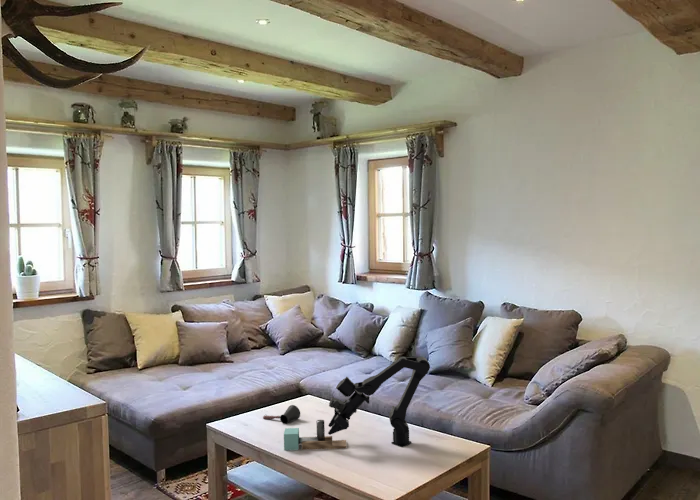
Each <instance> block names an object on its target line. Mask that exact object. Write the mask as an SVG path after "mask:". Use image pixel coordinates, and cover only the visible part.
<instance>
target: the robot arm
mask: <svg viewBox="0 0 700 500" xmlns="http://www.w3.org/2000/svg"><path fill="white" fill-rule="evenodd" d="M404 368H406V369H410V370H412V374H411V376H410V378H409V381H408V383H407V385H406V388H405V389H404V390H403V391H404V392H403V393H402V395H401V397H400V400H399V401H398V404H397V405H392V406H391V410H390V412H388V417H389V422H390V425H391V427H393V429H392V430H393V431H392V441H391V444H392V445H395V446H398V447H401V448H404V447H406V446H408V445H410V444H412V441H410V430H409V429H410V428H409V424H408V422H407V420H406V416H407V410H408V408H409V406H410V404H411V402H412V400H413V398H414V395H415V393H416V391H417V389H418V387H419V385H420V382H421V381H422V380H423V378H425V376H426V375H427V374H428V372H429V371H430V369H431V365H430V363H429V361H428V360H427V358H426V357H424V356H419V357H411V356H409V357H407V356H400V357H398V359H396V360H395V361H394V362H392V363H391V364H389V366H387V367H385V368H384V369H383V370H381V371H380V372H379V373H377V374H375V375H373V376H369V377H367V378H365V379H364V380H363V381H360V382H355V383H354V382H353V381H352V380H351V379H350V378H349V376H346V377H344V378H343V379H342V380H340V381H339V382H338V384H337V385H336V388H335V389H336V390H337V391H338V392H339V393H340V394H342V395H343V396H344V397H345V398H348V399H344V400H342V399H339V398H336V397H334V396H331V399H330V400H329V403H328V404H329V405H328V407H330V408H333V409H334V414H333V416H332V418H331V419H330V422H329V423H328V427H329V428H330V429H329V431H328V433H327V434H328V435H329V436H332V435H333V434H335V433H339V432H340V431H343V430H345V431H346V430H347V429H348V428H349V427H350V421H349V420H351V417H352V415H354V414H356V413H357V412H358V411H357V410H358V409H359V408H360V407H361V406H362V405H363V403H367V404H368V405H369V404H370V398H371V397H370V396H373V395H374V394H375V393H376V392H377V391H378V390H379V388H380V387H381V386H382V384H383V383H385V382H386V381H387V380H389V379H390V378H392V377H393V376H395V375H396V374H397V373H398V372H401V371H402V369H404Z"/></svg>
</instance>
